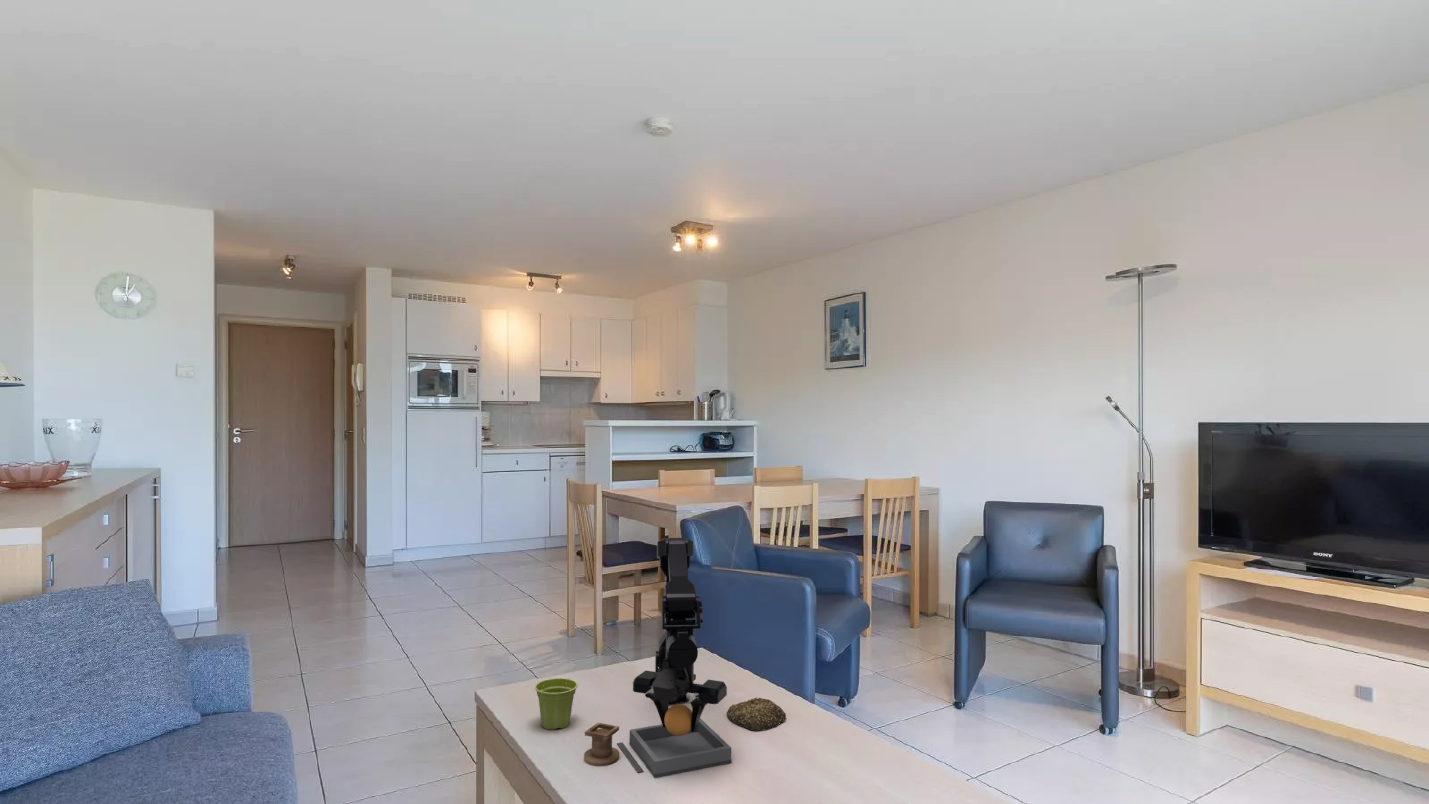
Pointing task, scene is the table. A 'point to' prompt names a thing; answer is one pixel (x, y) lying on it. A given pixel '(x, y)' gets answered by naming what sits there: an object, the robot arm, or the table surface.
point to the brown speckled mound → (756, 714)
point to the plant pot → (555, 701)
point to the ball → (678, 719)
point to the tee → (601, 745)
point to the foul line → (630, 757)
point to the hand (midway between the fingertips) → (679, 729)
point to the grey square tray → (679, 749)
